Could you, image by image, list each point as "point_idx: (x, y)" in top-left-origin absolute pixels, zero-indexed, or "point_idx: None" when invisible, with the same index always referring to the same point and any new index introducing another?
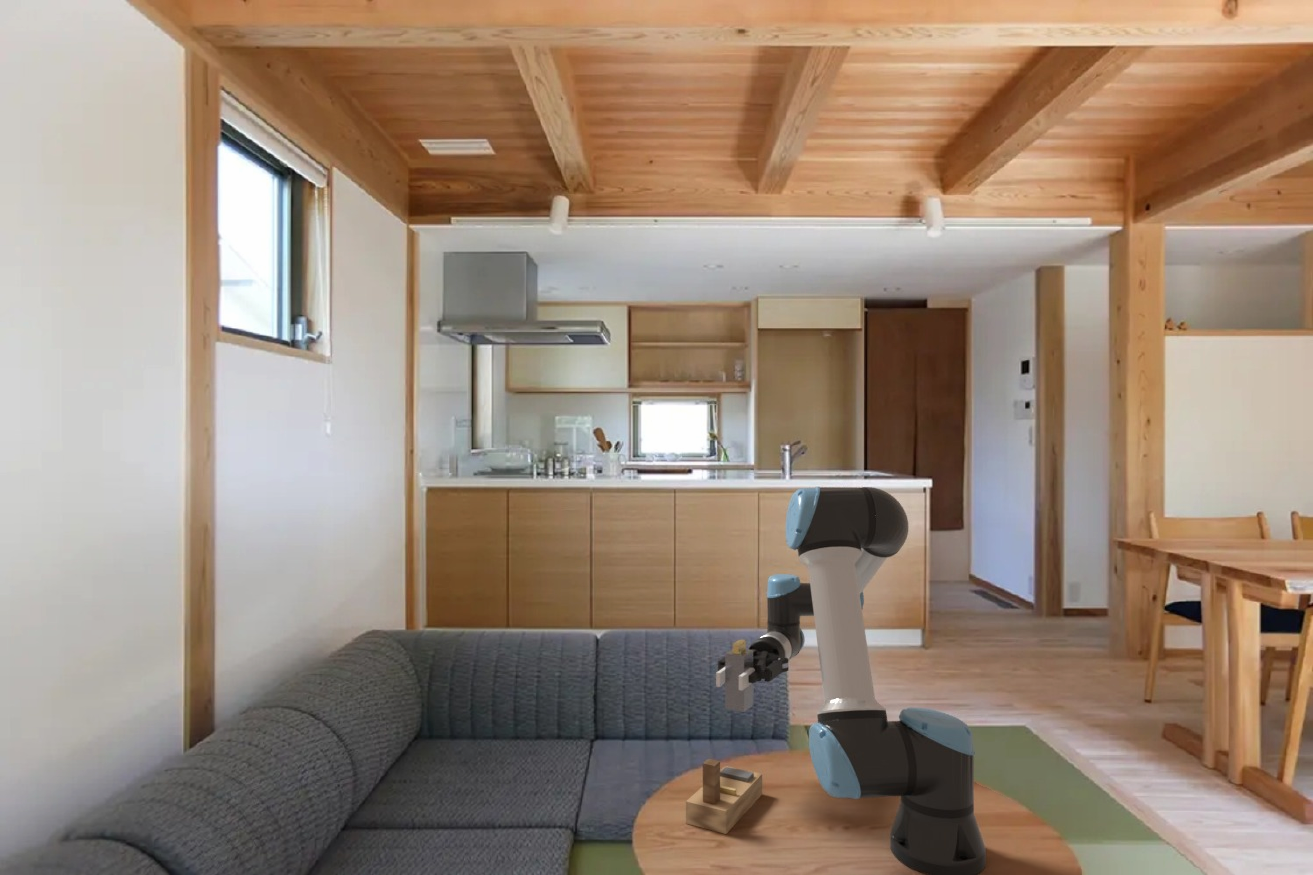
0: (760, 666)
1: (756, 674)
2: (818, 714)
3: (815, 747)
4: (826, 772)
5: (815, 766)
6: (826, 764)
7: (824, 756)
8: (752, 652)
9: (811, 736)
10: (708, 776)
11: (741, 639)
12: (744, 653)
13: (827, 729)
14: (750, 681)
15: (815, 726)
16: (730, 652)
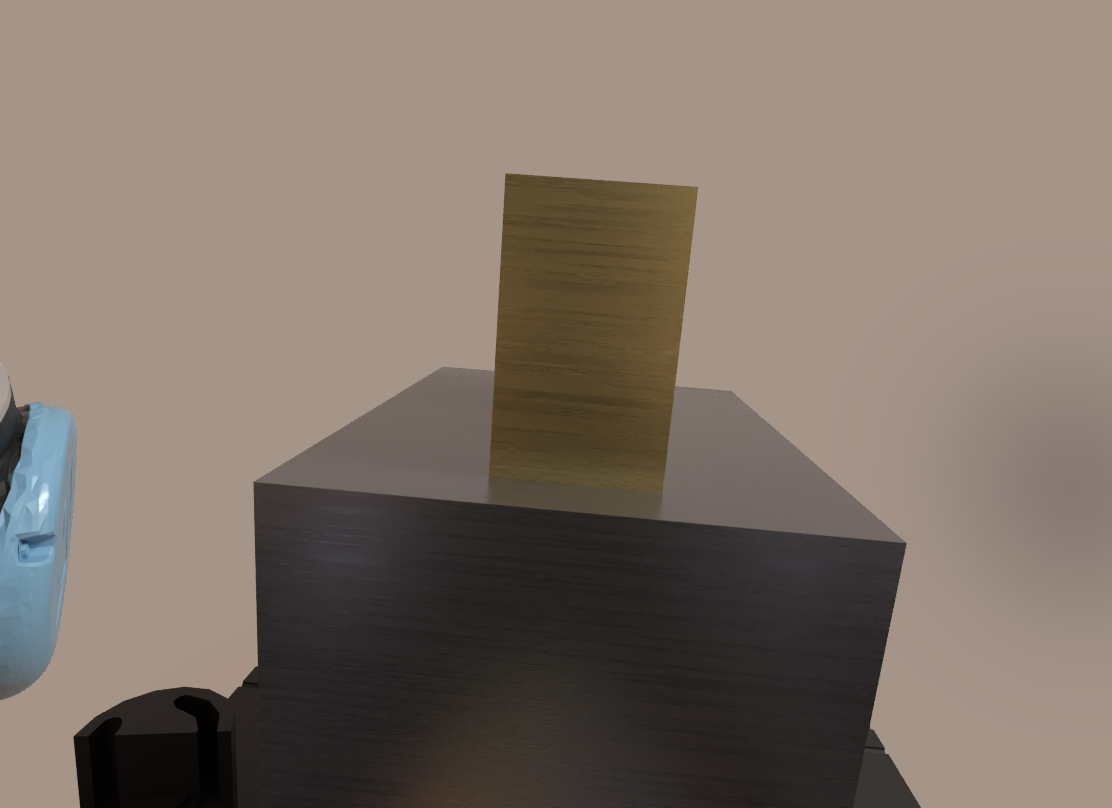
0: (97, 753)
1: (246, 680)
2: (9, 406)
3: (63, 520)
4: (68, 537)
5: (54, 622)
6: (72, 500)
7: (72, 482)
8: (281, 524)
9: (62, 500)
10: None
11: (645, 189)
12: (459, 397)
13: (33, 403)
14: None
15: (67, 419)
16: (697, 406)
